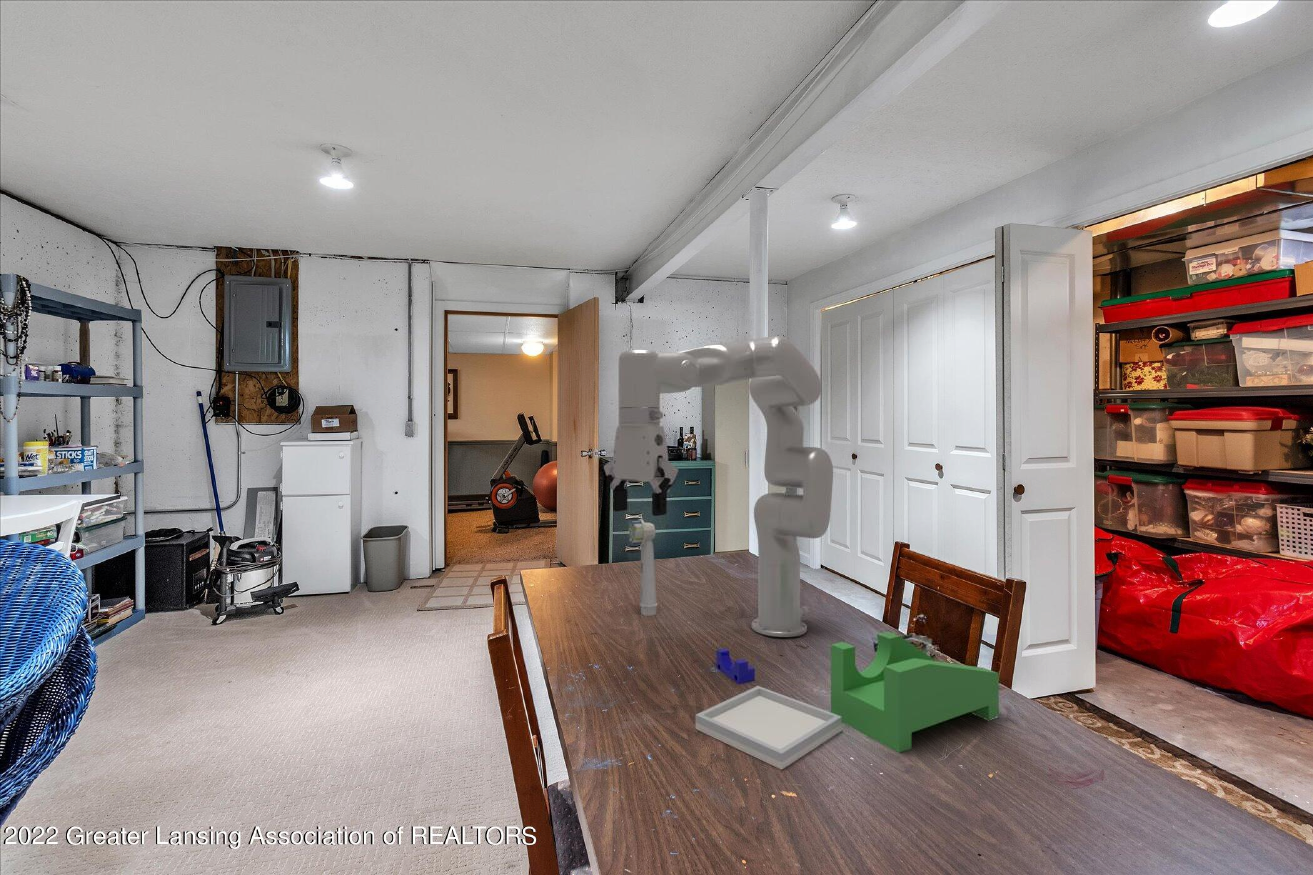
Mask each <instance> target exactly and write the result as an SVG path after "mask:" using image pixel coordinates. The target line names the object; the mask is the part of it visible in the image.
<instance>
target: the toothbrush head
mask: <svg viewBox="0 0 1313 875" xmlns="http://www.w3.org/2000/svg"><path fill="white" fill-rule="evenodd" d="M628 535H629V536H630V538H629V541H630V543H631V544H632V545H639V546H640V602H639V606H640V614H641V615H642V616H645V617H646V616H647V617H651V616H655V615H656V614H657V612H658V611H657V609H658V608H657V606H658V605H659V603H658V602H657V590H656V589H657V588H656V570H655V569H656V568H655V555H654V554H655V553H654V552H655V550H654V539H655V537H656V527H655V524H653V523H651V522H645V521H644V519H643V518H640V519H639V518H638V519H637V520H635V521H633V520H631V521H630V522H629V528H628Z"/></svg>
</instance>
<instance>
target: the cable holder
mask: <svg viewBox="0 0 1313 875" xmlns="http://www.w3.org/2000/svg"><path fill="white" fill-rule="evenodd" d="M715 655H716V663H715V665H716V669H717V670H719V671H720V672H721V673H722V674H724V675H725V676H727V677H728V678H730V679H731V680H732V681H734V683H737V684H738V685H741V684H747V683H750V682H755V679H756V677H755V676H756V675H755V674H756V673H755V672H756V668H754V667H753V666H752V665H750V664H749V661H748V660H746V659H744V658H743V659H737V660H733V661H734V662H733V661H732V658H731V655H730V650H729V649H727V648H720V649H716V654H715Z"/></svg>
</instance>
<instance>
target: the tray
mask: <svg viewBox="0 0 1313 875" xmlns="http://www.w3.org/2000/svg"><path fill="white" fill-rule="evenodd" d="M842 725H843V722H842V716H839V715H836V714H833V713H831V711H828V710H825V709H822V708H819V707H816V706H814V705H811V704H809V703H805V702H803V701H801V700H797V699H795V698H792V697H789V696H786V695H783V694H782V693H779V692H776V691H773V690H771V689H768V688H764V687H762V686H760V685H757V686H755V687H753V688H749V689H748V690H745V691H744V692H742V693H739V694H738V695H735V696H733V697H731V698H729V699H727V700H725V701H722V702H720V703H718V704H716V705H713V706H711V707H710V708H709V707H708V708H707V709H705V710H703V711H701V712H698V713H695V730H697V731H699V732H701V733H703V734H705V735H708V736H710V737H712V738H714V739H716V740H718V741H720V742H722V743H725V744H727V745H728V746H730V747H733V748H734V749H737V750H739V751H741V752H743V753H746V754H748V755H749V756H752V757H754V758H756V759H759V760H760V761H762V762H765V763H767V764H769V765H771V766H772V767H775V768H777V769H779V770H783V769H786V768H787V767H788V766H790V765H792V764H793V763H795V762H796V761H798V760H799V759H800V758H802V757H804V756H806V755H807V754H809V753H810V752H811V751H813V750H814V749H816V748H818V747H820V746H821V745H823V744H824V743H825V742H827V741H828V740H830V739H831V738H833V737H834V736H836V735H837V734H839V733H840V732H842V730H843V726H842Z"/></svg>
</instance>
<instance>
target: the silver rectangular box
mask: <svg viewBox="0 0 1313 875" xmlns="http://www.w3.org/2000/svg"><path fill="white" fill-rule="evenodd" d="M919 617H920V618H924V619H922V620H921V619H920V618H919ZM926 618H927V617H926V616H925V615H924V614H922V613H921V614H919V615H917V617H915V618H913V621H917V619H919V620H920V621H921V622H922V621H923V623H926V620H925V619H926ZM904 624H905V623H904V622H903V623H901V625H902V626H903V625H904ZM918 624H919V623H918ZM906 625H910V626H911V627H914V624H913V625H912V624H908V623H906ZM898 629H900V630H903V629H902V627H898ZM892 633H893V634H895V631H893V632H892ZM915 633H916V632H914V633H913V632H911V633H909V634H907V635H903V636H901V637H902V638H904V639H905V640H907V641H908V642H910V643H911V644H912V645H914V646H915V647H917V648H918V649H920V650H921V651H922V652H924V653H925V654H927V655H928V656H930V655H931V656H933V655H934V654H936V652H934V653H932V654H930V651H931V649H935V650H937V649H939V648H940V647H939V645H937V644H935V645H932V642H933V640H932V638H929V637H927V636H926V635H924V636H923V635H921V634H919V635H917V634H915ZM871 641H872V645H873V650H874V652H875V653H876V652H877V648H878V637H875V636H871ZM937 646H938V647H937ZM931 656H930V657H931ZM933 657H934V656H933Z"/></svg>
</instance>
